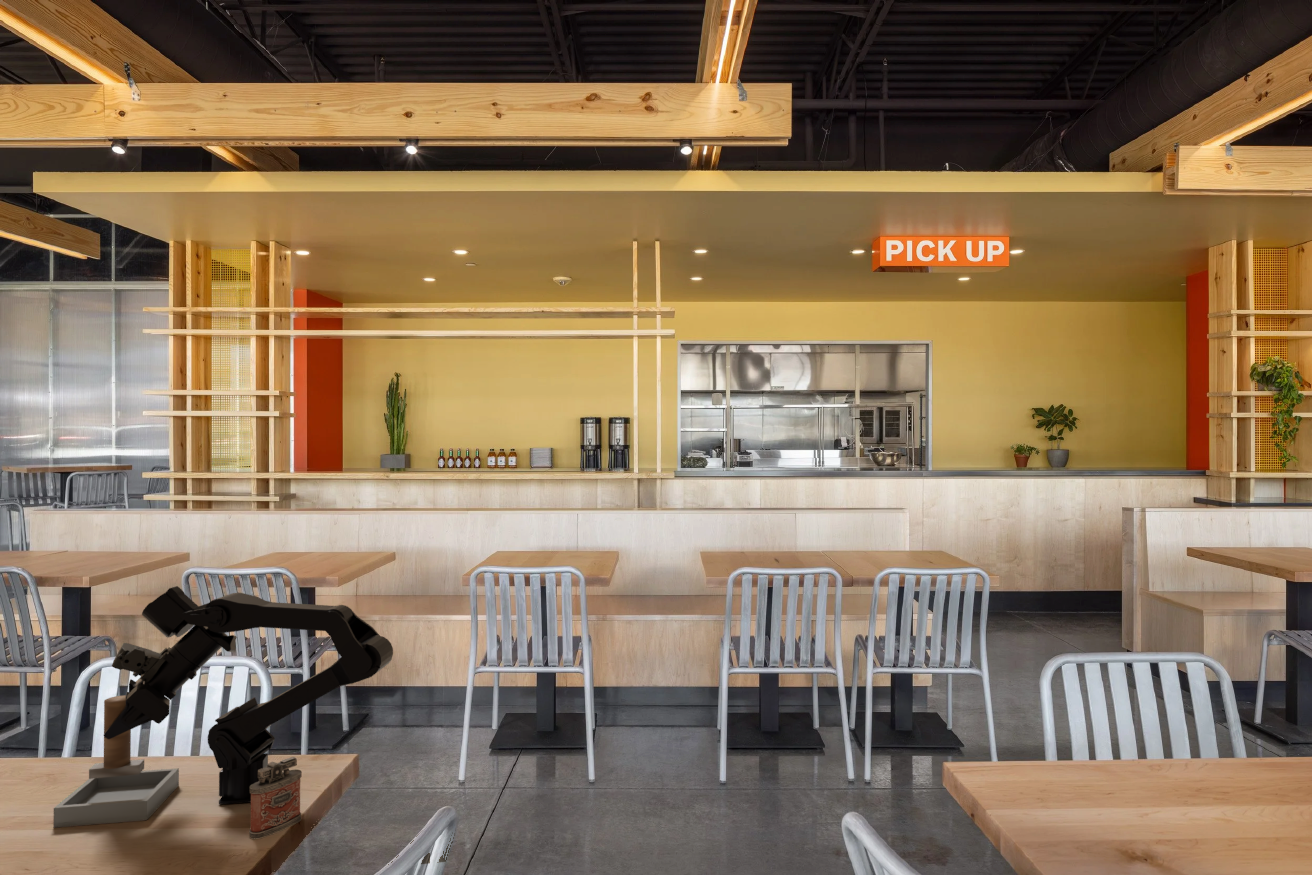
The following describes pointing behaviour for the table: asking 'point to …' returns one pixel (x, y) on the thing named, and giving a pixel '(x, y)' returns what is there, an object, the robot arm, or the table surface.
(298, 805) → the lighter
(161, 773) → the tray
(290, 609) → the robot arm
